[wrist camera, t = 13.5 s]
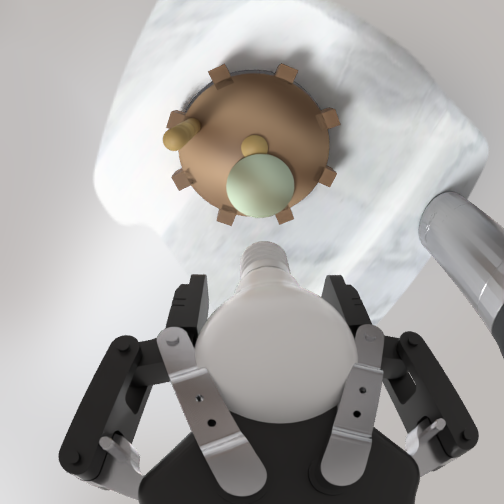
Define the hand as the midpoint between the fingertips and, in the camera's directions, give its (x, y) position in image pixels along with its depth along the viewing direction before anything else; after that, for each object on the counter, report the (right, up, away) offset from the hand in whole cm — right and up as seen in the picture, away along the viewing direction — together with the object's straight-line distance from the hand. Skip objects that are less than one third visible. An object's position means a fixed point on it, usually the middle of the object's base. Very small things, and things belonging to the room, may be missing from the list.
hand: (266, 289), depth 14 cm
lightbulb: (0, +2, +3) cm, 3 cm away
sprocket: (-1, +13, +13) cm, 18 cm away
